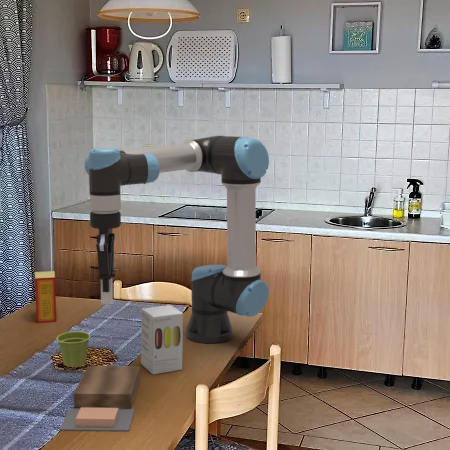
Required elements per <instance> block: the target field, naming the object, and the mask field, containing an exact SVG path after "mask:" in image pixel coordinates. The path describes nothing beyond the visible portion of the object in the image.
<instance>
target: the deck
mask: <svg viewBox="0 0 450 450" xmlns="http://www.w3.org/2000/svg"><path fill="white" fill-rule="evenodd" d="M140 382H141V366H134V365H133V366H126V365H125V366H123V365H122V366H121V365H120V366H119V365H118V366H117V365H116V366H115V365H88V366H87V367H86V369H85V371H84V373H83V375H82V376H81V379H80V380H79V382H78V385H77V387H76V388H75V391H74V393H73V408H81V407H88V408H118V409H133V408H132V407H133V404H134V401H135V399H136V396H137V392H138V388H139V385H140Z"/></svg>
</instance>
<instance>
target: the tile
mask: <svg viewBox="0 0 450 450" xmlns="http://www.w3.org/2000/svg"><path fill="white" fill-rule="evenodd" d="M118 416H119V412H118V408H88V407H81V408H80V410H79V413H78V415H77V417H76V427H115V424H116V422H117V419H118Z"/></svg>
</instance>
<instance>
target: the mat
mask: <svg viewBox="0 0 450 450" xmlns="http://www.w3.org/2000/svg"><path fill="white" fill-rule="evenodd" d="M79 410H80V408H74V407H73V408H71V407H70V408H69V409H68V411H67V413H66V416H65V417H64V419H63V421H62V423H61V425H60V426H59V431H76V432H77V431H78V432H81V431H86V432H89V431H90V432H92V431H93V432H94V431H95V432H130V429H131V425H132V421H133V418H134V414H135V410H136V409H135V408H131V409H118V412H119V416H118V419H117V422H116V424H115V427H76V417H77V415H78V413H79Z"/></svg>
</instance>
